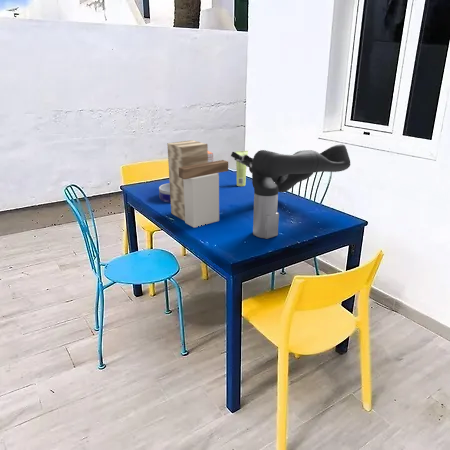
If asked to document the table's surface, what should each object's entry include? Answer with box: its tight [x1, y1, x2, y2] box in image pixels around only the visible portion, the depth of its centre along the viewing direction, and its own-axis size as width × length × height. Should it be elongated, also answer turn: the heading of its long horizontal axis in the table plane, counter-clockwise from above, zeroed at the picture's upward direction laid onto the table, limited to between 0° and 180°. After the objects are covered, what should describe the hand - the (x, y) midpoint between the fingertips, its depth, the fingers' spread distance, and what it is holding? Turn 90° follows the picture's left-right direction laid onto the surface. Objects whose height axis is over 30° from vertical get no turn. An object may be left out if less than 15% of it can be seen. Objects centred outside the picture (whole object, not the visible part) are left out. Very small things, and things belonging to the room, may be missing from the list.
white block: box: [183, 173, 220, 229], centre depth 165 cm, size 7×13×21 cm, turn 127°
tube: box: [234, 150, 249, 187], centre depth 216 cm, size 6×5×20 cm
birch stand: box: [166, 139, 209, 222], centre depth 172 cm, size 12×12×32 cm
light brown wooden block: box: [179, 159, 229, 179], centre depth 161 cm, size 4×22×4 cm, turn 127°
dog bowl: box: [158, 182, 171, 203], centre depth 199 cm, size 15×15×6 cm
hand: (238, 155), depth 171 cm, fingers open, 8 cm apart
